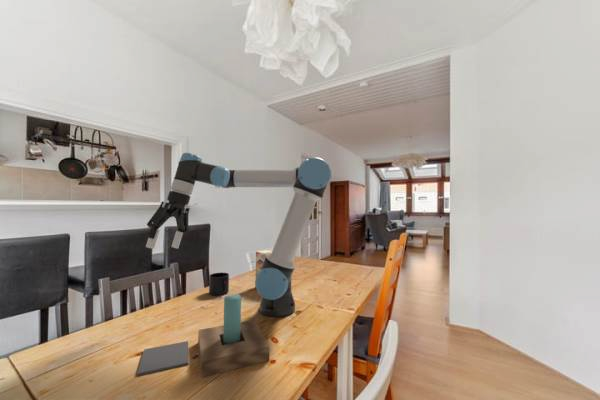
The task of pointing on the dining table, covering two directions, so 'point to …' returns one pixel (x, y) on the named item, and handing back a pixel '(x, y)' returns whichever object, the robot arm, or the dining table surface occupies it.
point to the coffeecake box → (260, 259)
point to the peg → (232, 319)
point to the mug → (218, 284)
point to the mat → (163, 358)
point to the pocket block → (231, 349)
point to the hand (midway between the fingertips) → (163, 247)
